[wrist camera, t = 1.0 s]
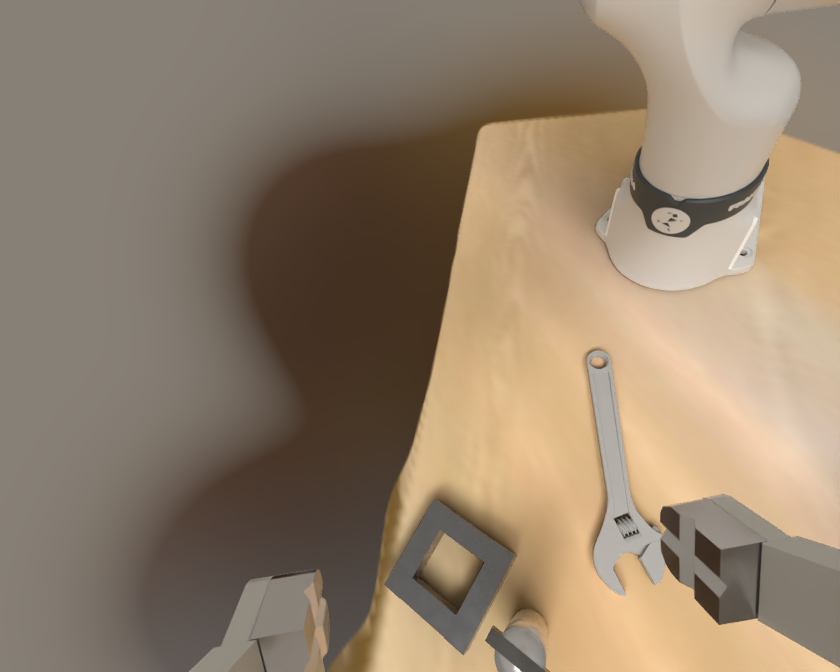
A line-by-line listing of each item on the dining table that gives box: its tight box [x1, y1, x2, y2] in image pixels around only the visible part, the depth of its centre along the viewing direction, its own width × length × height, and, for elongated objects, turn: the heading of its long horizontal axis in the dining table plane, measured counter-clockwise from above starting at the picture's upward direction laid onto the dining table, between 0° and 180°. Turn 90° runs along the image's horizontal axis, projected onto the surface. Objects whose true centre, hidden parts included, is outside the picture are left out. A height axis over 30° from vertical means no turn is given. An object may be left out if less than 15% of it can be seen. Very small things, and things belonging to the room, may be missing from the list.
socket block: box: [384, 499, 517, 655], centre depth 43 cm, size 10×10×2 cm
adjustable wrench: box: [587, 351, 665, 596], centre depth 44 cm, size 25×6×2 cm, turn 172°
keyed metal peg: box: [485, 609, 550, 672], centre depth 34 cm, size 4×5×13 cm
